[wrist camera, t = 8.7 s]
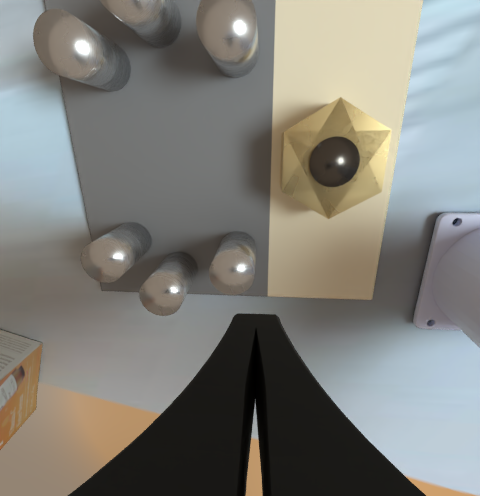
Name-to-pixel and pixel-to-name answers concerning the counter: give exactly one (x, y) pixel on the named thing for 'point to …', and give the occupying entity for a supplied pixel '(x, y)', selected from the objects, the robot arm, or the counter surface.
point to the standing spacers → (115, 78)
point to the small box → (17, 382)
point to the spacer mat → (240, 141)
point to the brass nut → (334, 158)
